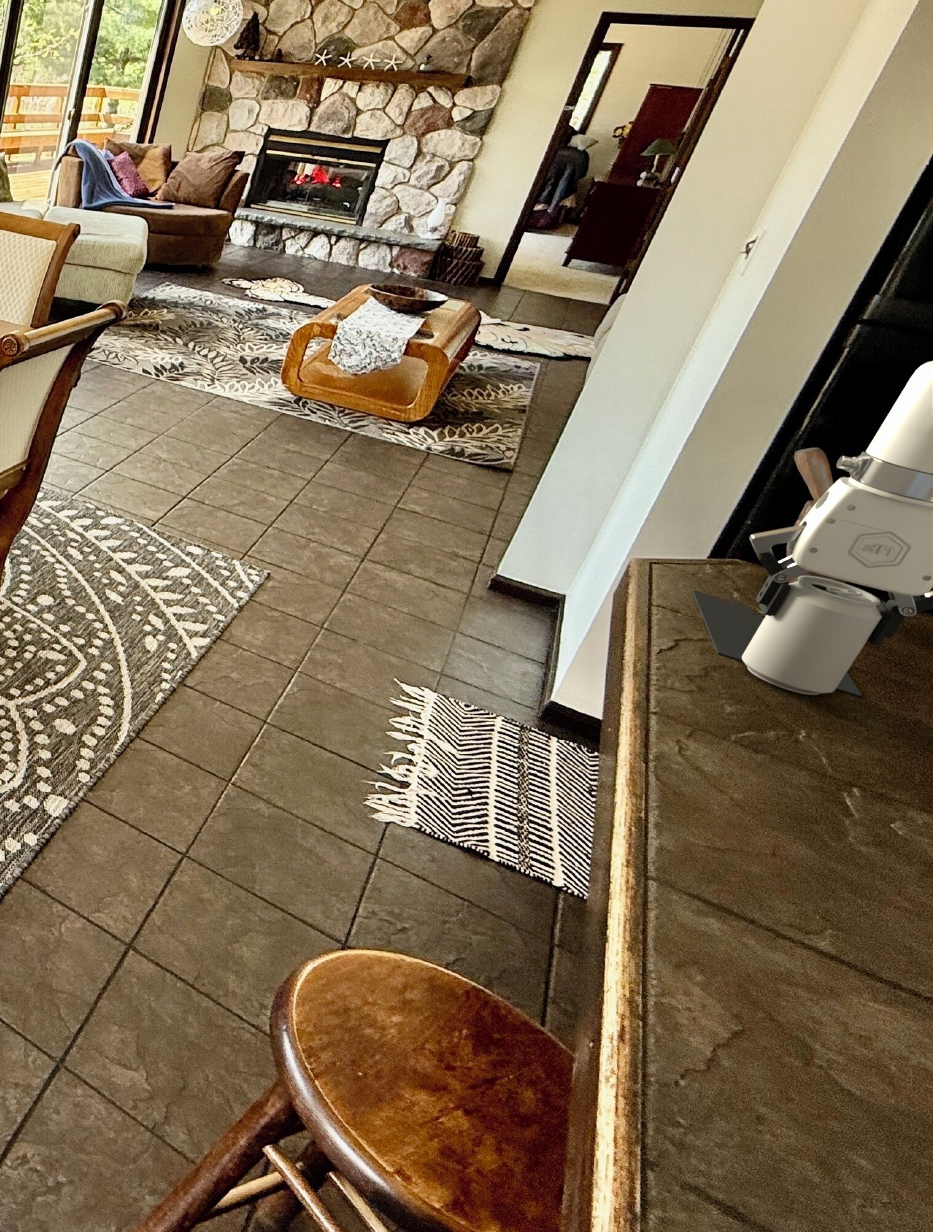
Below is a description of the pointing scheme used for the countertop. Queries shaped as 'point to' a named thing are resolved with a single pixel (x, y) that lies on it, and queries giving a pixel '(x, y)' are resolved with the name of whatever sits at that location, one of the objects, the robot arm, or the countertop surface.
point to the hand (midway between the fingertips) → (816, 624)
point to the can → (813, 636)
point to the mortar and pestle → (813, 486)
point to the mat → (740, 630)
